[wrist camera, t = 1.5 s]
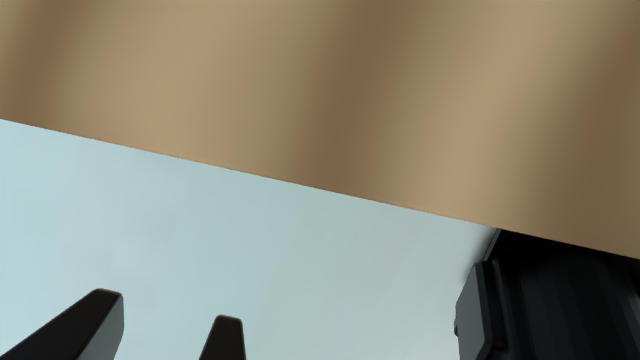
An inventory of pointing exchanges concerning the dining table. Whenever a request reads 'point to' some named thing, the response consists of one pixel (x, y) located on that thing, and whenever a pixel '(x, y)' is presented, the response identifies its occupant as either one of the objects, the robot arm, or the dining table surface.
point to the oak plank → (359, 98)
